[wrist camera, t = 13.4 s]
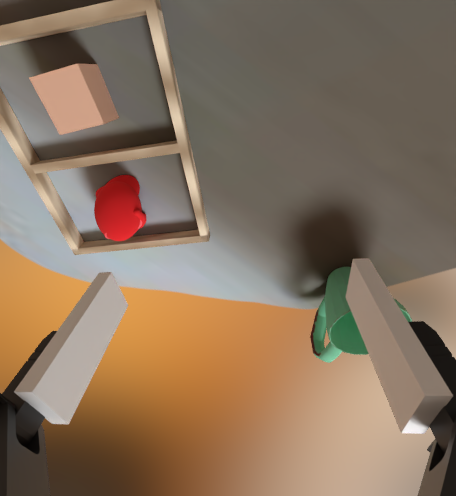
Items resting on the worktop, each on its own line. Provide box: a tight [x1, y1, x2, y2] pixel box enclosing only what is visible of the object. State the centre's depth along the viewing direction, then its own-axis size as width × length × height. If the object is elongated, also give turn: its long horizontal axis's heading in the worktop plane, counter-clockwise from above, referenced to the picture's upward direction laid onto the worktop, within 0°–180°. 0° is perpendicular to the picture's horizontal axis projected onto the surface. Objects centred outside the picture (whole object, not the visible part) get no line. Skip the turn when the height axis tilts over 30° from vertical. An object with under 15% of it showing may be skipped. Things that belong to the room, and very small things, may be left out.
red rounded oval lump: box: [94, 175, 146, 241], centre depth 32 cm, size 8×6×6 cm
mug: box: [311, 267, 412, 362], centre depth 38 cm, size 15×10×10 cm
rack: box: [0, 0, 210, 255], centre depth 30 cm, size 25×20×2 cm
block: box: [29, 64, 119, 135], centre depth 26 cm, size 5×5×4 cm
